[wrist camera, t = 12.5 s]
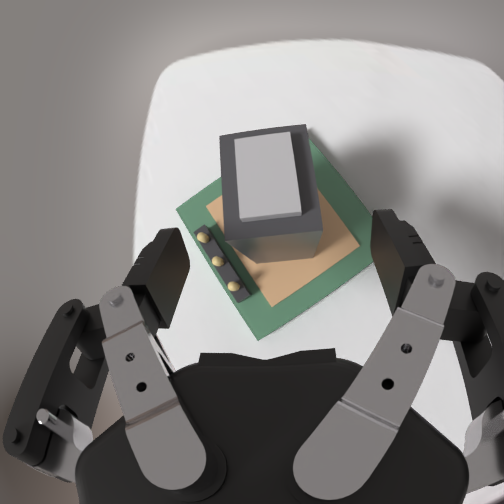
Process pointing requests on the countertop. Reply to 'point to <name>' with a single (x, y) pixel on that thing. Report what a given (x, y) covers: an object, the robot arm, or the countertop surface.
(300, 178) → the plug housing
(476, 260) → the countertop surface
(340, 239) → the circuit board
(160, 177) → the countertop surface
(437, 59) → the countertop surface
